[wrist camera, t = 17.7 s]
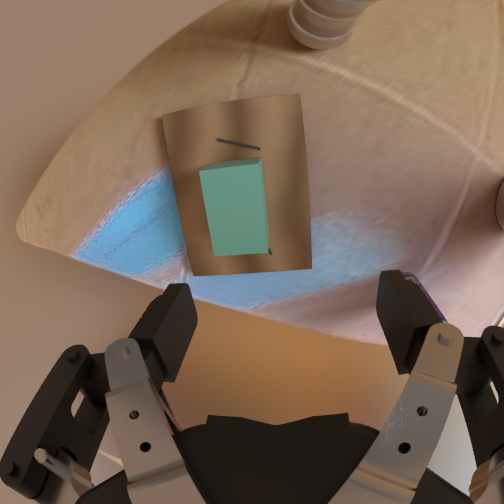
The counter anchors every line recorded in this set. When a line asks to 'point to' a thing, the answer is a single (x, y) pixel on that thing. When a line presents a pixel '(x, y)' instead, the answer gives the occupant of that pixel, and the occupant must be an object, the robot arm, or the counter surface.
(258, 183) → the block
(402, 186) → the counter surface
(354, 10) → the plastic bottle
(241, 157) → the oak board
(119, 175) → the counter surface
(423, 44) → the counter surface
